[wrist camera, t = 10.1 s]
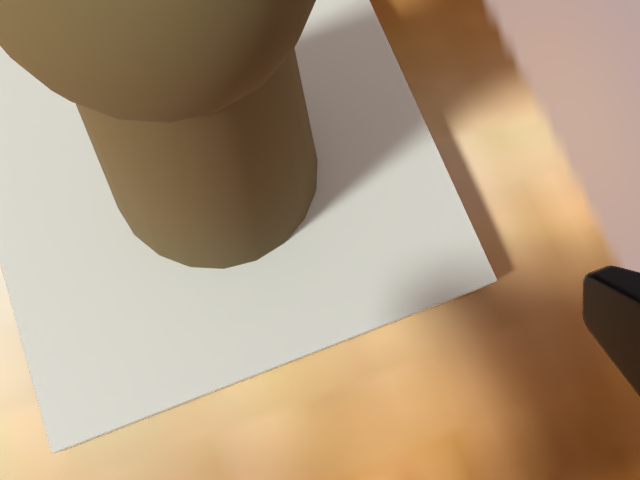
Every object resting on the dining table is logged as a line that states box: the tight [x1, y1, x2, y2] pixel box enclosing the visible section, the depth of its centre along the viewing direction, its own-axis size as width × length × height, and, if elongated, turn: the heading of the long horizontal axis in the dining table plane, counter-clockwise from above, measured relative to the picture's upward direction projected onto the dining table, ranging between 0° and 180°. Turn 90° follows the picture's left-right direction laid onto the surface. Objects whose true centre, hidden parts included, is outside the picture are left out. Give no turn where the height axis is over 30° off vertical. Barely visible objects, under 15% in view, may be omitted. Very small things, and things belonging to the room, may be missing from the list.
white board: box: [0, 0, 497, 453], centre depth 19 cm, size 18×13×1 cm
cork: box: [0, 0, 318, 269], centre depth 13 cm, size 6×6×11 cm
